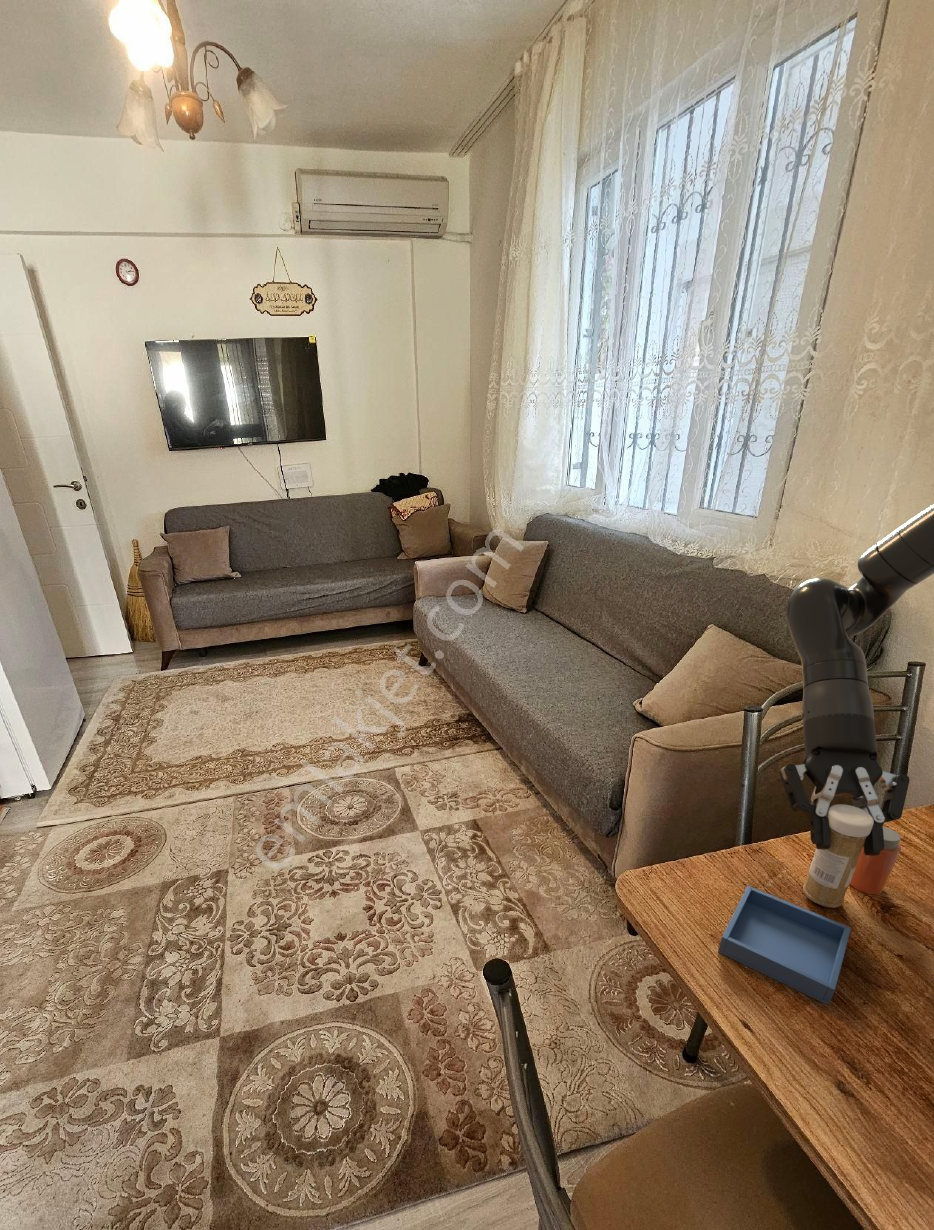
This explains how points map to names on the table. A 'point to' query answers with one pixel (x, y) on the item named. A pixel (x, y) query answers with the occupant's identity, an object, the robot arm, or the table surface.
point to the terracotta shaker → (877, 865)
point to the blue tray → (786, 943)
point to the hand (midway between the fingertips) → (847, 851)
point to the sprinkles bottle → (838, 855)
